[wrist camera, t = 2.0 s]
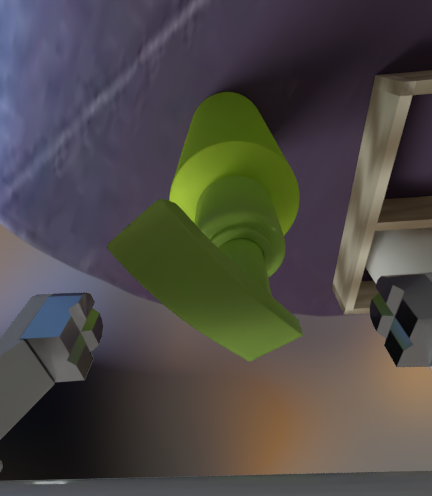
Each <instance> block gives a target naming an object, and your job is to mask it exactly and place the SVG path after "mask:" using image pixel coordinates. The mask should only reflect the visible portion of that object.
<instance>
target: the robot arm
mask: <svg viewBox="0 0 432 496" xmlns="http://www.w3.org/2000/svg"><path fill="white" fill-rule="evenodd" d="M375 287H376V289H377V290H378V292H379V293H378V294H377V295H375V296H374V297H373V298H372V299H371V303H370V318H371V321H372V323H373V326H374V328H375V329H376V331H377V332H378V333H379V334H381V335H382V336H384V337H385V338H386V341H385V344H384V346H385V348H386V349H387V351H388V353H389V355H390V356H391V358H392V360H393V362H394V363H395V365H396V367H431V369H432V272H428V273H419V274H402V275H387V276H381V277H380V278H379V279H378V280H377V283H376V286H375ZM93 305H94V300H93V298H92V296H91V294H89V293H62V294H41V295H35V296H33V297H31V298H30V300H29V301H28V302H27V304H26V305H25V306H24V308H23V309H22V310H21V312H20V313H19V314H18V315H17V317H16V318H15V320H14V321H13V322H12V324H11V325H10V326H9V327H8V329H7V330H6V331H5V333H4V334H3V335H2V337H1V338H0V439H1V438H2V437H3V436H4V435H5V434H6V433H7V432H8V431H9V430H10V429H11V428H12V427H13V426H14V425H15V424H16V423H17V422H18V421H19V420H20V419H21V418H22V417H23V416H24V415H25V414H26V412H28V411H29V410H30V409H31V407H33V405H35V403H36V402H37V401H38V400H39V399H40V398H41V397H42V396H43V395H44V394H45V393H46V392H47V391H48V390H49V389H50V388H51V387H52V386H53V385H54V382H64V381H78V380H85V378H86V376H87V373H88V371H89V368H90V366H91V363H92V360H93V356H92V354H91V351H92V350H93V349H95V348H96V347H97V346H98V345H99V343H100V340H101V338H102V331H103V323H102V318H101V316H100V313H98V312H97V311H96V310H94V309H93V308H92V307H93ZM2 468H3V466H2V462H1V460H0V472H1V470H2ZM0 496H432V471H400V472H361V473H360V472H357V473H317V474H276V475H233V476H192V477H152V478H110V479H70V480H31V481H30V480H29V481H0Z"/></svg>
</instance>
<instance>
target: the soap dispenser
mask: <svg viewBox="0 0 432 496" xmlns="http://www.w3.org/2000/svg"><path fill="white" fill-rule="evenodd" d="M298 207H299V188H298V184H297V180H296V178H295V175H294V173H293V171H292V169H291V168H290V166H289V164H288V162H287V161H286V159H285V157H284V155H283V153H282V152H281V150H280V148H279V146H278V145H277V143H276V141H275V139H274V138H273V136H272V134H271V132H270V130H269V129H268V127H267V125H266V123H265V122H264V120H263V118H262V116H261V114H260V113H259V111H258V109H257V108H256V106H255V105H254V104H253V103H252V102H251V101H250V100H249V99H248V98H246V97H245V96H243V95H241V94H238V93H234V92H221V93H217V94H214V95H212V96H210V97H208V98H207V99H206V100H204V101H203V102H202V103H201V104H200V105H199V107H198V108H197V110H196V111H195V113H194V115H193V118H192V121H191V125H190V128H189V131H188V134H187V138H186V141H185V144H184V147H183V150H182V154H181V157H180V160H179V163H178V167H177V170H176V173H175V176H174V179H173V183H172V186H171V190H170V197H169V201H168V200H164V199H159V200H157V201H156V202H154V203H153V204H152V205H151V206H150V207H149V208H148V209H147V210H145V211H144V212H143V213H142V214H141V215H140V216H139V217H137V218H136V219H135V220H134V221H133V222H132V223H131V224H130V225H128V226H127V227H126V228H125V229H124V230H123V231H122V232H121V233H120V234H119V235H118V236H116V237H115V238H114V239H113V240H112V241H111V242H110V243H109V244H108V245H107V248H108V250H109V251H110V252H111V253H112V255H113V256H114V257H115V258H116V259H117V260H118V261H119V262H120V263H121V264H122V265H123V267H124V268H125V269H126V270H127V271H128V272H129V273H130V274H131V275H132V276H133V277H134V278H135V279H136V280H137V281H138V282H139V283H140V284H141V285H143V286H144V287H145V288H146V289H147V290H148V291H149V292H150V293H151V294H152V295H153V296H154V297H155V298H157V299H158V300H159V301H160V302H161V303H162V304H163V305H165V306H166V307H167V308H168V309H170V310H171V311H172V312H173V313H175V314H176V315H177V316H178V317H180V318H181V319H182V320H184V321H185V322H187V323H188V324H189V325H191V326H192V327H194V328H195V329H196V330H198V331H200V332H201V333H203V334H204V335H206V336H207V337H209V338H210V339H212V340H214V341H215V342H217V343H219V344H220V345H222V346H224V347H225V348H227V349H229V350H230V351H232V352H233V353H235V354H237V355H239V356H240V357H242V358H244V359H246V360H247V361H252V360H254V359H256V358H258V357H260V356H262V355H264V354H266V353H268V352H270V351H273V350H275V349H277V348H279V347H281V346H283V345H285V344H287V343H289V342H291V341H293V340H295V339H297V338H299V337H301V336H303V333H302V330H301V327H300V323H299V320H298V319H297V318H296V317H295V316H294V315H293V314H291V313H290V312H289V311H288V310H287V309H286V308H284V307H283V306H282V305H281V304H280V303H279V302H277V301H276V300H275V299H274V298H273V297H272V293H271V289H270V284H269V279H268V277H270V276H271V275H272V274H273V273H274V272H275V271H276V270H277V269H278V268H279V266H280V265H281V263H282V261H283V259H284V256H285V239H284V235H285V234H286V233H287V231H288V230H289V229H290V227H291V225H292V224H293V222H294V220H295V217H296V215H297V211H298Z"/></svg>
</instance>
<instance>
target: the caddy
mask: <svg viewBox="0 0 432 496" xmlns="http://www.w3.org/2000/svg"><path fill="white" fill-rule="evenodd" d="M431 93H432V70H429V71H418V72H407V73H396V74H385V75H375V79H374V84H373V89H372V94H371V99H370V104H369V109H368V114H367V119H366V124H365V128H364V133H363V138H362V143H361V148H360V153H359V158H358V163H357V168H356V173H355V178H354V182H353V187H352V192H351V197H350V202H349V207H348V212H347V217H346V222H345V227H344V232H343V236H342V241H341V246H340V251H339V256H338V261H337V266H336V271H335V276H334V281H333V286H332V289H333V291H334V293H335V296H336V298H337V300H338V302H339V304H340V307H341V309H342V311H343V313H344V314H363V313H370V303H371V299H372V298H373V297H374V296H375V295H377V294H378V293H379V292H378V290H377V289H376V287H375V286H376V283H375V282H374V281H361V280H362V276H363V272H364V269H365V265H366V262H367V258H368V254H369V251H370V247H371V244H372V240H373V236H374V233H375V231H385V230H400V229H415V228H431V227H432V196H423V197H409V198H395V199H384V197H385V193H386V189H387V186H388V182H389V179H390V175H391V171H392V168H393V164H394V161H395V157H396V153H397V150H398V146H399V143H400V139H401V135H402V132H403V128H404V125H405V121H406V117H407V114H408V110H409V107H410V103H411V99H412V96H413V95H420V94H431Z"/></svg>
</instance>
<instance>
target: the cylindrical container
mask: <svg viewBox="0 0 432 496" xmlns="http://www.w3.org/2000/svg"><path fill="white" fill-rule="evenodd" d="M365 268H366V269H367V271H368V272H369V274H370V276H371V277H372V279H373V280H374V282H375V283H377V280H378V279H379V278H380V277H381V276H387V275H402V274H419V273H428V272H432V227H431V228H415V229H400V230H385V231H375V233H374V236H373V240H372V244H371V247H370V251H369V254H368V258H367V262H366V265H365ZM430 368H431V367H430ZM431 370H432V369H431Z"/></svg>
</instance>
